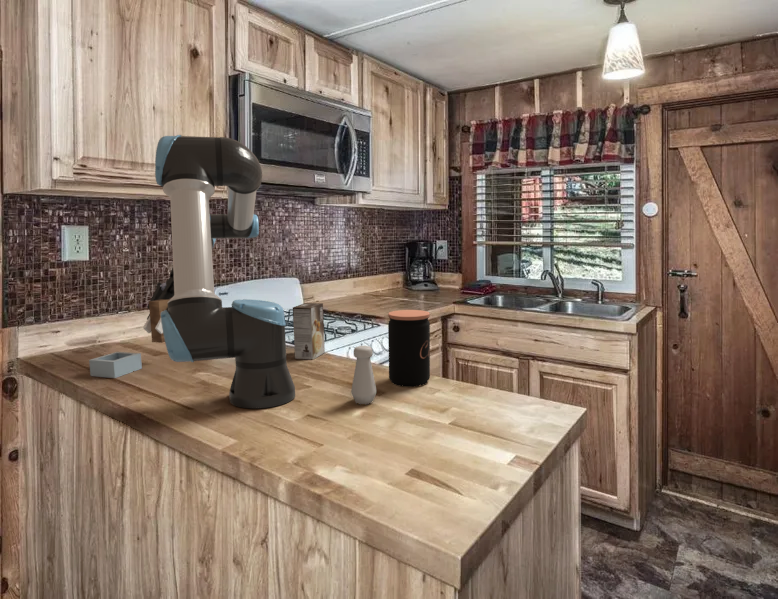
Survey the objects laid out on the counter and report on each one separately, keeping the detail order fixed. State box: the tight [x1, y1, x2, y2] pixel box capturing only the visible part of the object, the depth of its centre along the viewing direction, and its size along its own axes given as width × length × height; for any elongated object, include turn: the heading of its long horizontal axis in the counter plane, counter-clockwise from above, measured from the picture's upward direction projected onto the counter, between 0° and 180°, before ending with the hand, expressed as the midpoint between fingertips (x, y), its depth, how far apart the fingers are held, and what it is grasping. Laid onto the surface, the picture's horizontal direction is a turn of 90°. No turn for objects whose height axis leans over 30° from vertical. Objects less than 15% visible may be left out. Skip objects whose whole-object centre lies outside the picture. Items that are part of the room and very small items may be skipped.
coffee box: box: [292, 302, 326, 360], centre depth 164 cm, size 9×6×16 cm
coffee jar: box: [387, 309, 431, 388], centre depth 136 cm, size 11×11×18 cm
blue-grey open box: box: [88, 351, 143, 379], centre depth 149 cm, size 8×10×4 cm
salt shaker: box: [350, 345, 377, 405], centre depth 121 cm, size 6×6×13 cm
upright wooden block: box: [148, 299, 170, 343], centre depth 156 cm, size 4×5×12 cm
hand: (152, 330), depth 152 cm, fingers closed on upright wooden block, 3 cm apart
